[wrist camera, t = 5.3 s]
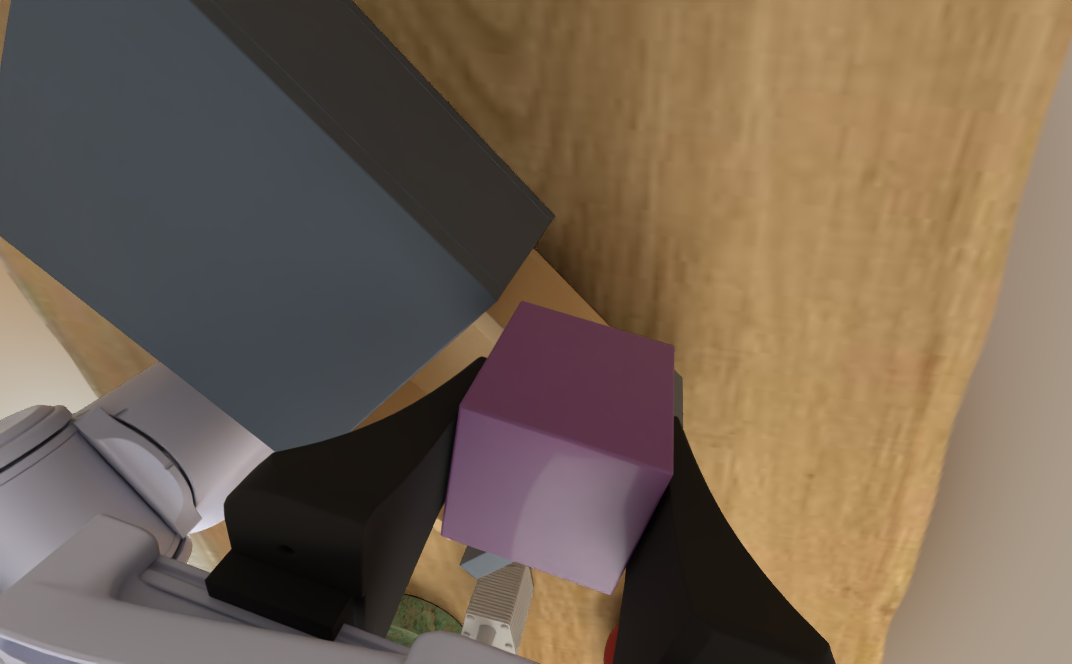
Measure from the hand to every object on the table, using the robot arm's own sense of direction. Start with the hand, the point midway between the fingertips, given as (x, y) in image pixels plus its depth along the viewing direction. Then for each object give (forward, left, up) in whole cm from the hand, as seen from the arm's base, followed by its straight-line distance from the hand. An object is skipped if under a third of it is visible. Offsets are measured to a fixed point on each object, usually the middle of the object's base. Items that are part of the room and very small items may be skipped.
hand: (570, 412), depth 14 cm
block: (0, 0, -1) cm, 1 cm away
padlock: (-26, -1, -11) cm, 28 cm away
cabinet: (0, +13, -10) cm, 17 cm away
